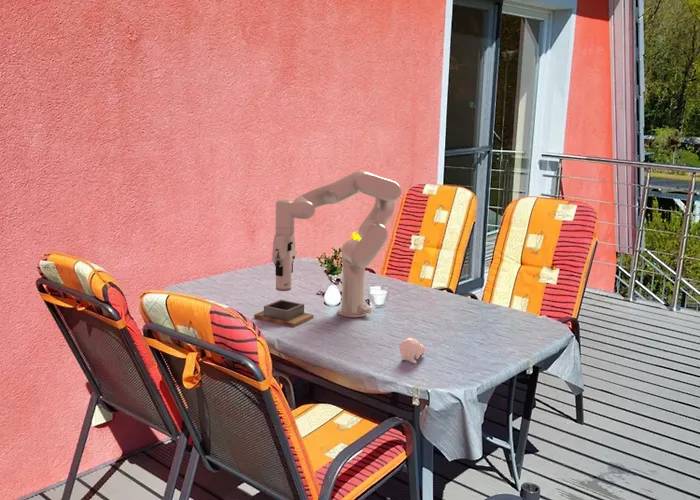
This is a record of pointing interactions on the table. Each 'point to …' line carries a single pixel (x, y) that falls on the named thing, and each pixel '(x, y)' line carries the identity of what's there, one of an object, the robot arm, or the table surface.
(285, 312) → the gray square tray
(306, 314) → the walnut stand
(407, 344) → the pink animal figurine
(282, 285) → the travel mug
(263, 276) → the table surface
